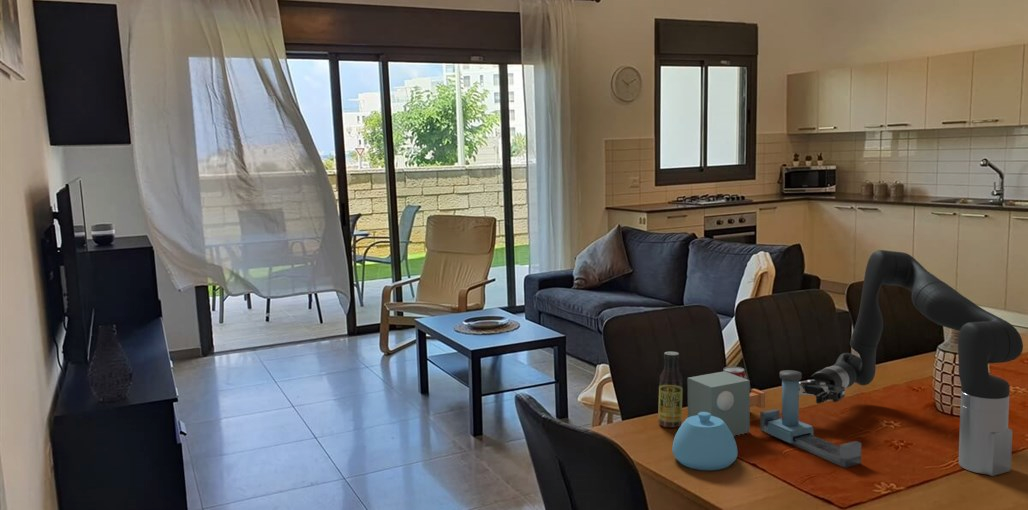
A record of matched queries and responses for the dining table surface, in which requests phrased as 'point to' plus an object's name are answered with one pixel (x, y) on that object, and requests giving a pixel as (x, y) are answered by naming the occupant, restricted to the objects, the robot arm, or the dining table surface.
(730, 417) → the cabinet
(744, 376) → the soda can
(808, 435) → the rail
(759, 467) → the dining table surface
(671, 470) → the dining table surface
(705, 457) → the sugar bowl
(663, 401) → the sauce bottle
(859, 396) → the dining table surface
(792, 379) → the carriage
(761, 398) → the plunger
